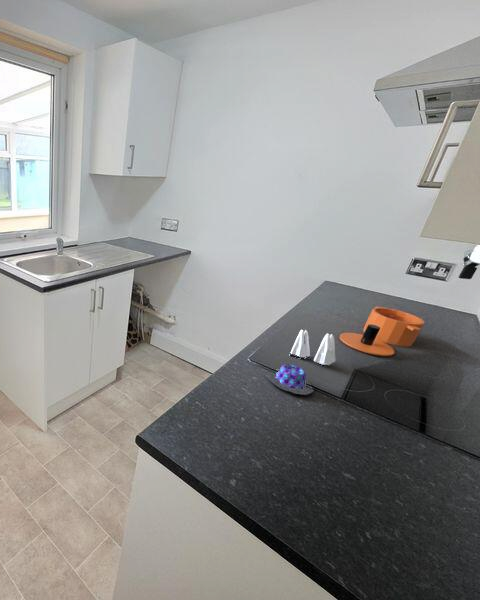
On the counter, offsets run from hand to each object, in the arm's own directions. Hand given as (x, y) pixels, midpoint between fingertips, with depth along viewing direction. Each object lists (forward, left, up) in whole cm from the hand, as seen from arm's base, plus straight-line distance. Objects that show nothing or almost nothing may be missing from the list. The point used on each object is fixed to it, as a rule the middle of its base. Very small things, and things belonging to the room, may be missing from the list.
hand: (478, 283), depth 99 cm
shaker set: (+46, +14, -28) cm, 56 cm away
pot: (+6, -14, -28) cm, 32 cm away
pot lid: (+20, -3, -28) cm, 34 cm away
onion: (+6, -14, -27) cm, 31 cm away
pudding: (+59, +30, -28) cm, 72 cm away
